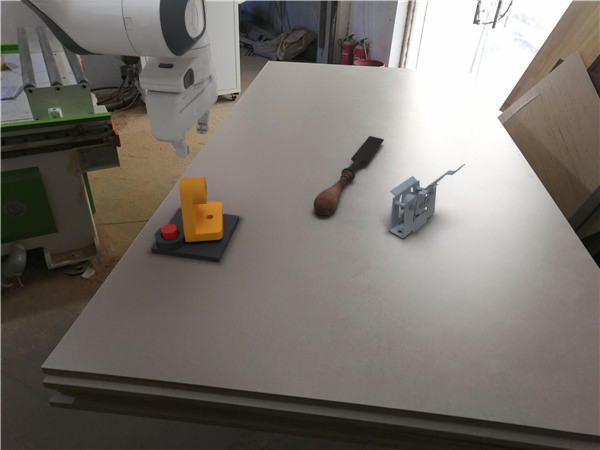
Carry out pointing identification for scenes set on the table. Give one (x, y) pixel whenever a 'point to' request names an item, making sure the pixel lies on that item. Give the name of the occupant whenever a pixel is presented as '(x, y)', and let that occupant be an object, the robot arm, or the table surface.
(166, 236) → the button
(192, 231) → the bracket
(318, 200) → the chisel
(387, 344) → the table surface
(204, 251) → the scale
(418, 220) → the bracket
